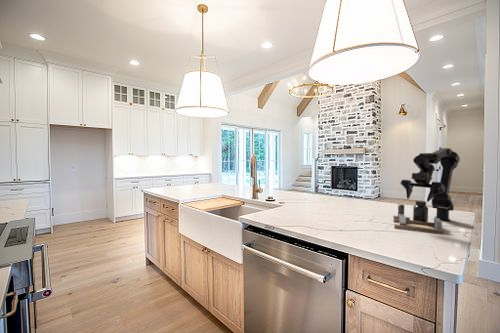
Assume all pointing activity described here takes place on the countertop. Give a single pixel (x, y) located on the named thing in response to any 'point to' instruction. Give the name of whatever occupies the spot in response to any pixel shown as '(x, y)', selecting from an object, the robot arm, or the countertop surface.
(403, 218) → the bar
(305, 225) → the countertop surface
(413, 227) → the press base
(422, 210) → the supplement bottle
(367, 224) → the countertop surface
